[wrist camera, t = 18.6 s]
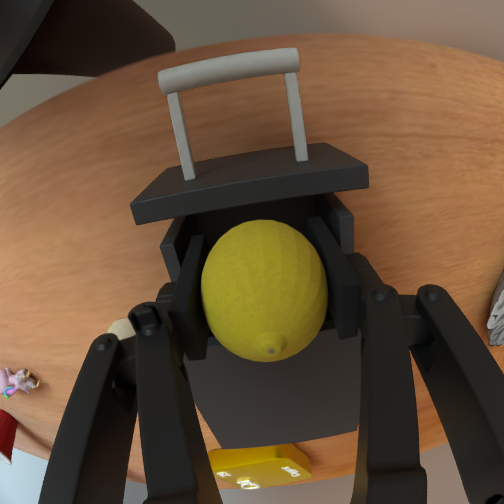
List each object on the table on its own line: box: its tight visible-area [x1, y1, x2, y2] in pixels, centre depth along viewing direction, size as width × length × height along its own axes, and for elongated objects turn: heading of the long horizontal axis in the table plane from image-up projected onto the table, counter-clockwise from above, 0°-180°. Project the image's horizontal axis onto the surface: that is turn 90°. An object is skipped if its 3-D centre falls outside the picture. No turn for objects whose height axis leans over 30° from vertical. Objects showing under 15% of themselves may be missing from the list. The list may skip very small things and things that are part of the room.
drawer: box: [130, 48, 369, 337], centre depth 18 cm, size 20×12×8 cm, turn 9°
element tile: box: [208, 443, 312, 490], centre depth 43 cm, size 15×15×5 cm
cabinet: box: [183, 319, 362, 449], centre depth 24 cm, size 15×13×10 cm
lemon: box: [201, 220, 328, 362], centre depth 13 cm, size 6×6×8 cm
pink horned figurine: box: [0, 367, 41, 399], centre depth 32 cm, size 6×6×15 cm
